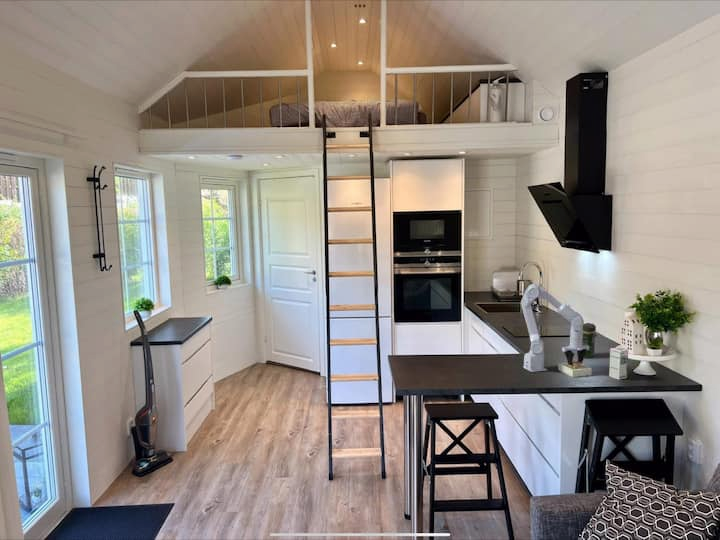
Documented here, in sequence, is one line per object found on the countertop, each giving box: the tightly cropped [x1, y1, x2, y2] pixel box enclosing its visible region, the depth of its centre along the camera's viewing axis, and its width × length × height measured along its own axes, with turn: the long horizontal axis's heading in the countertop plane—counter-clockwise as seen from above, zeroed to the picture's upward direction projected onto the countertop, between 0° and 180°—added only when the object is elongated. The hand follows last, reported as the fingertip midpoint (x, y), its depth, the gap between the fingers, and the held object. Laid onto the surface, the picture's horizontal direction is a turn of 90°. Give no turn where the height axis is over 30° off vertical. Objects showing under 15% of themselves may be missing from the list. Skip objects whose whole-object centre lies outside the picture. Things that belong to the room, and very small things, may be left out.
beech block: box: [569, 360, 581, 370], centre depth 253 cm, size 4×4×5 cm
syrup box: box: [608, 346, 629, 380], centre depth 246 cm, size 6×6×14 cm
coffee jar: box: [576, 322, 597, 359], centre depth 280 cm, size 10×8×19 cm
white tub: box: [557, 362, 593, 378], centre depth 253 cm, size 11×11×4 cm
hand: (574, 364), depth 253 cm, fingers open, 5 cm apart
